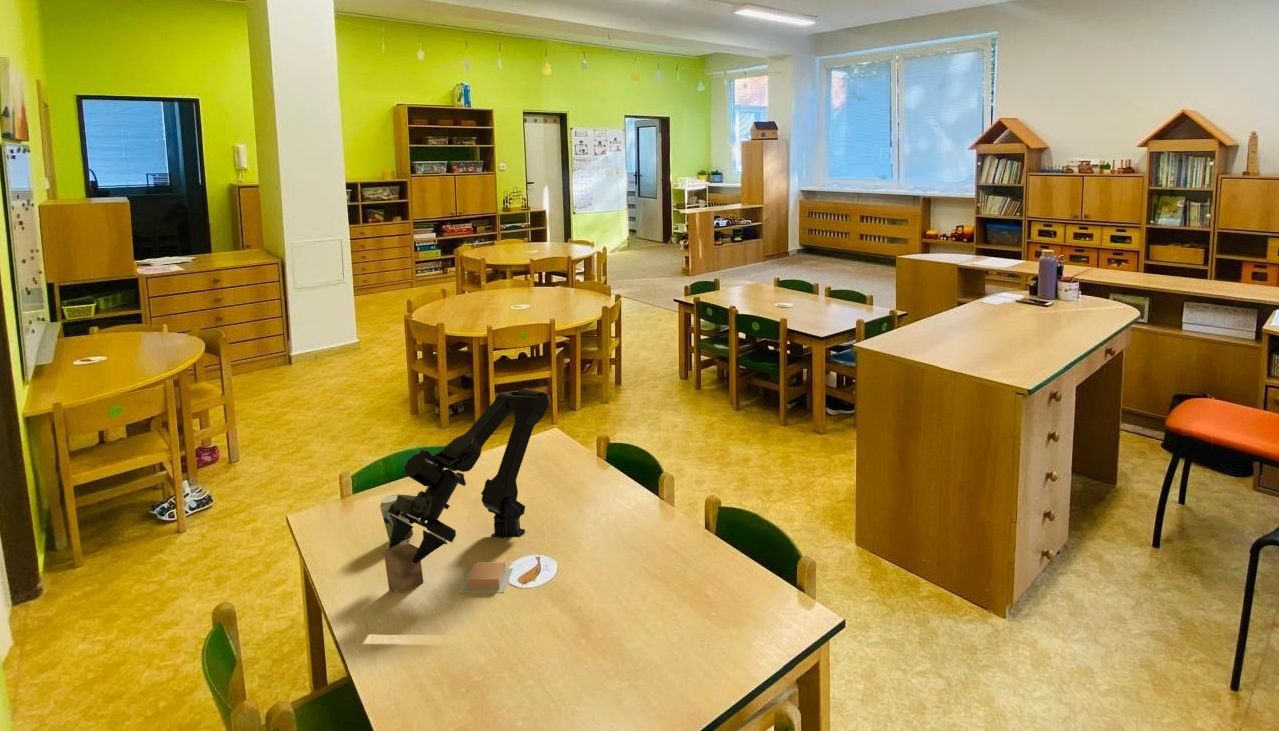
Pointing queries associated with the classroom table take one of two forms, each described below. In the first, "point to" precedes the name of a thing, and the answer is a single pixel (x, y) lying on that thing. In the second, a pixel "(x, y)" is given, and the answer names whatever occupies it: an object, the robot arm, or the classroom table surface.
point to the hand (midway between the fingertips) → (402, 556)
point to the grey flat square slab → (501, 590)
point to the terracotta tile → (487, 575)
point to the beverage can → (387, 519)
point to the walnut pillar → (402, 567)
